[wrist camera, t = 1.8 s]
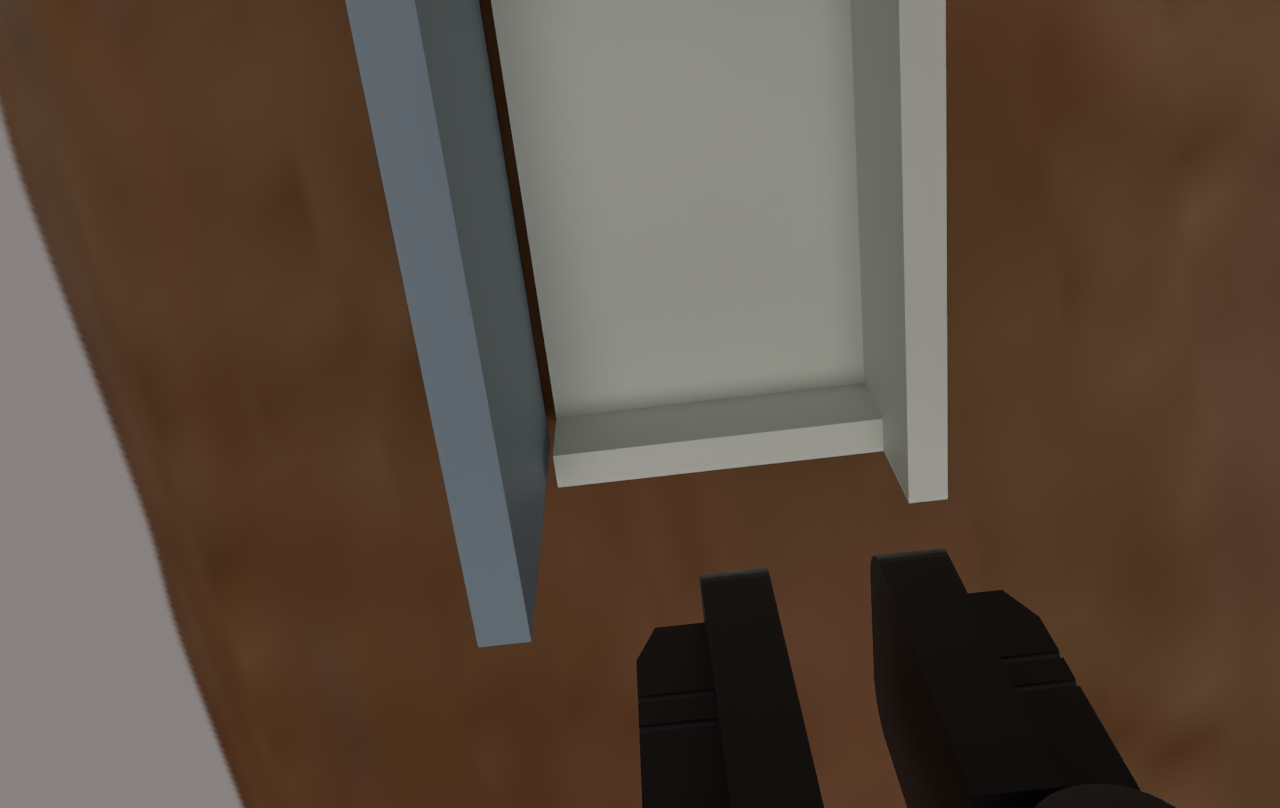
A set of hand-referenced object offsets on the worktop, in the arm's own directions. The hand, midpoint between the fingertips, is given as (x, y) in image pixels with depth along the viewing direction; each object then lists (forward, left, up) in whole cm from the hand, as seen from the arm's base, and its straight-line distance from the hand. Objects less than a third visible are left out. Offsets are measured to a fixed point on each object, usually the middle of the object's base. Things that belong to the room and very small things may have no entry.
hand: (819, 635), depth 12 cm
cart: (0, 0, -23) cm, 23 cm away
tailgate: (+6, 0, -22) cm, 22 cm away
